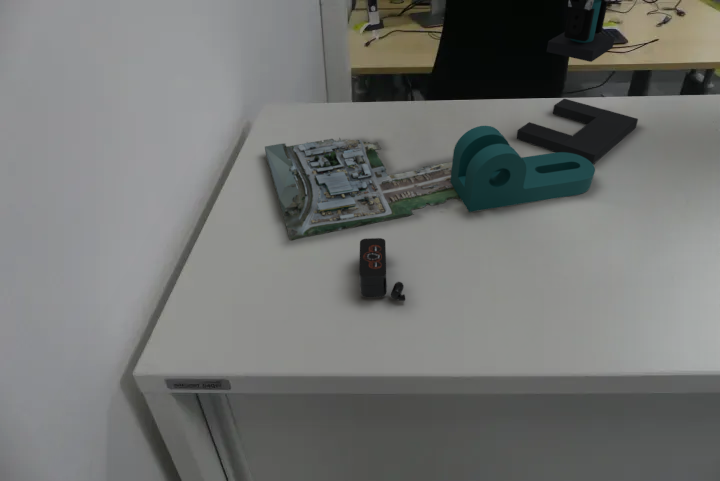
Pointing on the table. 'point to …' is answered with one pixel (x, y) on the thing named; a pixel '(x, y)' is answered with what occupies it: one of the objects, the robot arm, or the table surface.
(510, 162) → the bracket
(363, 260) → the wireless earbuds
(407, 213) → the model
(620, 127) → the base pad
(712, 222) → the table surface
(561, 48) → the teal peg with base
